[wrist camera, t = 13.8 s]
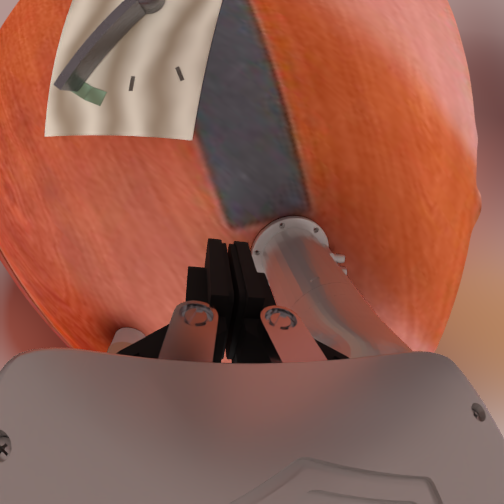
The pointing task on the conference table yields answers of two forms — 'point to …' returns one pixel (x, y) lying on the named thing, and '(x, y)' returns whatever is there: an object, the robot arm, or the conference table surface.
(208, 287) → the robot arm
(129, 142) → the conference table surface
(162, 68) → the dial plate
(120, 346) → the coffee cup
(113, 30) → the pointer lever
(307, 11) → the conference table surface
